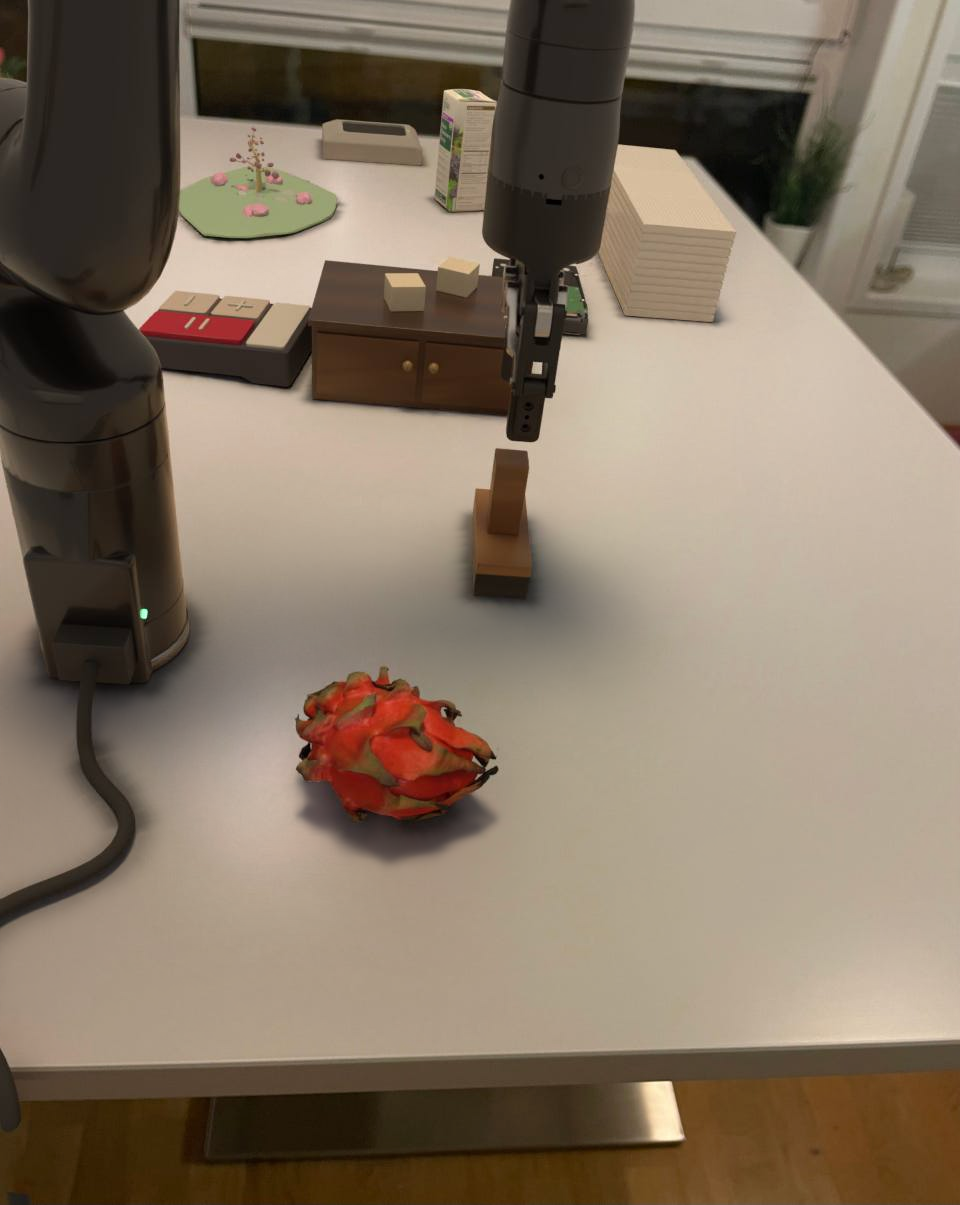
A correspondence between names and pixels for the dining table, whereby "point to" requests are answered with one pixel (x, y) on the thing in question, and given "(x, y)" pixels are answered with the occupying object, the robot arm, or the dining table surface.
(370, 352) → the cabinet
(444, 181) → the syrup box
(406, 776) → the dragon fruit
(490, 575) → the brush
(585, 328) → the disk drive
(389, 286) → the wooden block
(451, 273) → the wooden block
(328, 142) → the beige low box
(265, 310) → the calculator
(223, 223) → the plant
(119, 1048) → the dining table surface
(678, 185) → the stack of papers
